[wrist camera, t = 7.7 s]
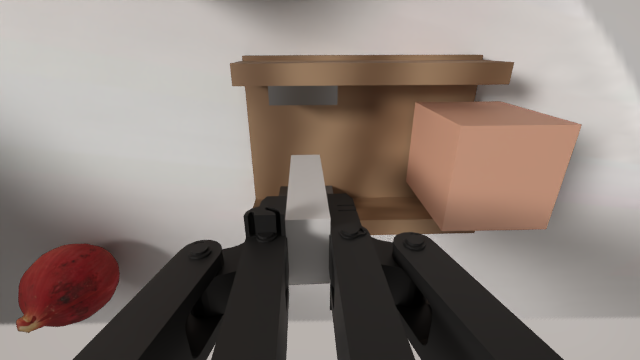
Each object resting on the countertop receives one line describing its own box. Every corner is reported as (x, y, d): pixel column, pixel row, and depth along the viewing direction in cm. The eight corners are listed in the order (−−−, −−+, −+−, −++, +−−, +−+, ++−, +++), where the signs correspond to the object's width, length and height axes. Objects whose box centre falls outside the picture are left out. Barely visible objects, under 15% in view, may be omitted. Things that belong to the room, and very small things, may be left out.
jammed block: (405, 181, 24) (441, 231, 17) (415, 102, 21) (461, 125, 15) (482, 180, 24) (546, 229, 17) (500, 101, 21) (581, 124, 15)
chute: (259, 209, 26) (249, 240, 22) (245, 55, 21) (229, 57, 17) (447, 206, 26) (473, 236, 22) (475, 54, 21) (515, 56, 17)
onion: (111, 215, 26) (31, 283, 18) (150, 266, 28) (93, 346, 20) (52, 237, 26) (-47, 311, 19) (95, 285, 28) (20, 369, 21)
